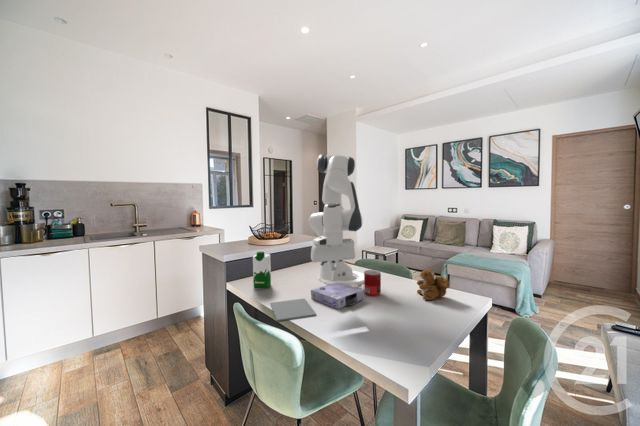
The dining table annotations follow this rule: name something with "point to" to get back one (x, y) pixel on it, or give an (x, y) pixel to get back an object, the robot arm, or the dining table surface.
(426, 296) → the stuffed squirrel
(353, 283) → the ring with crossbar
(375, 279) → the canned food
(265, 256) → the milk carton
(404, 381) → the dining table surface
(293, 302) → the mat
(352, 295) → the cake pan box
